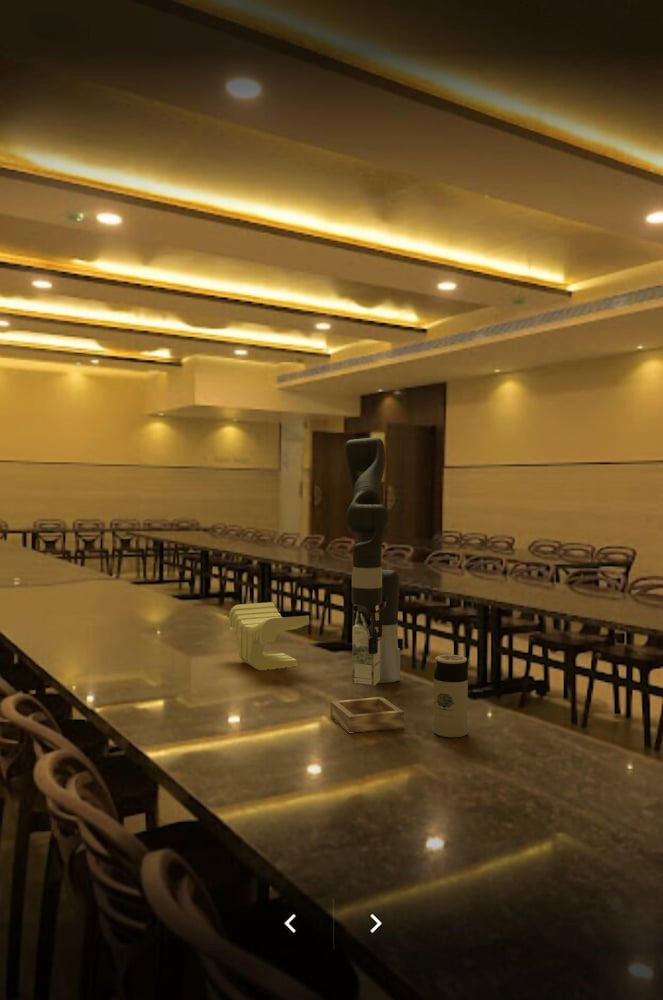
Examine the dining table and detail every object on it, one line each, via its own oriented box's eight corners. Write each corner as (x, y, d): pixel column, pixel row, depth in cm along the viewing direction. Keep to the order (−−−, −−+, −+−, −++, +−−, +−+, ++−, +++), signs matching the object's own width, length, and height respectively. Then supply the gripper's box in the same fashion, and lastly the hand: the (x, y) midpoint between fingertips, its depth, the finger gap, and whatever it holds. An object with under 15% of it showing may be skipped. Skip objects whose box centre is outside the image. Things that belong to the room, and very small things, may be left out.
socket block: (381, 712, 206) (381, 696, 206) (403, 728, 193) (403, 711, 193) (330, 717, 202) (330, 701, 202) (349, 733, 189) (349, 717, 189)
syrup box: (380, 681, 199) (380, 623, 199) (373, 686, 194) (374, 627, 193) (358, 679, 201) (358, 621, 201) (351, 684, 196) (351, 625, 195)
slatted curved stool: (228, 657, 269) (228, 605, 269) (272, 653, 276) (272, 602, 276) (261, 677, 242) (261, 619, 242) (308, 672, 249) (309, 615, 249)
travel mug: (447, 725, 195) (447, 652, 195) (474, 733, 189) (474, 658, 189) (426, 733, 190) (427, 657, 189) (453, 740, 184) (454, 663, 183)
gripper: (392, 588, 191) (391, 655, 192) (370, 581, 205) (370, 643, 205) (363, 589, 189) (362, 657, 189) (342, 582, 202) (342, 645, 203)
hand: (366, 650), depth 197 cm, fingers closed on syrup box, 8 cm apart
